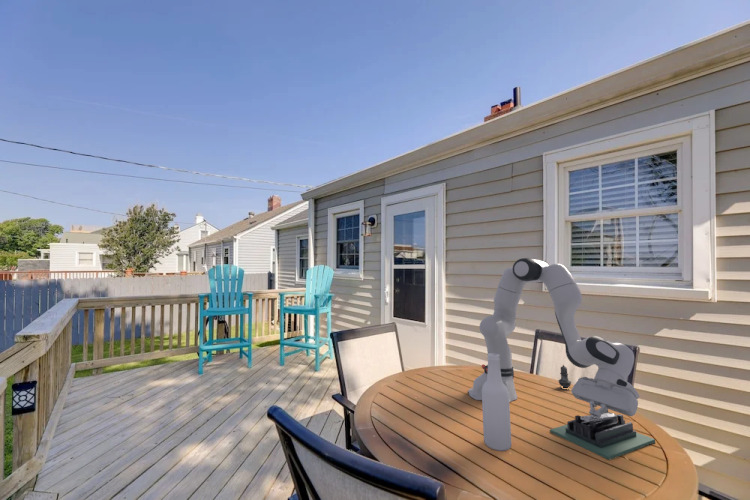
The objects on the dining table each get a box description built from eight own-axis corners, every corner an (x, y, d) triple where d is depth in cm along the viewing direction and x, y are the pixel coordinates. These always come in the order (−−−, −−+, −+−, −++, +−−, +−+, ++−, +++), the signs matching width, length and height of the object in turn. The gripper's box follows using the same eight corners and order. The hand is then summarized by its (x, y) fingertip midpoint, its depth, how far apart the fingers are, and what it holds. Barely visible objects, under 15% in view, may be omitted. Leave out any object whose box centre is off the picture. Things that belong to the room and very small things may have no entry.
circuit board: (594, 419, 125) (594, 416, 125) (655, 442, 107) (654, 439, 107) (550, 432, 114) (549, 429, 114) (609, 460, 96) (608, 456, 96)
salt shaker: (573, 390, 158) (572, 366, 159) (561, 390, 159) (559, 365, 161) (569, 387, 164) (567, 363, 165) (556, 386, 165) (555, 363, 166)
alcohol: (500, 454, 100) (496, 358, 103) (478, 443, 107) (474, 353, 110) (517, 447, 104) (512, 355, 108) (494, 436, 112) (490, 350, 115)
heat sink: (600, 422, 120) (598, 404, 121) (636, 435, 109) (634, 416, 110) (565, 432, 112) (564, 413, 113) (601, 448, 101) (599, 427, 102)
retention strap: (609, 415, 116) (609, 412, 116) (618, 418, 113) (618, 415, 113) (580, 419, 109) (580, 416, 110) (589, 423, 107) (589, 419, 107)
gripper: (576, 370, 124) (561, 400, 119) (636, 385, 105) (621, 421, 100) (584, 380, 125) (570, 410, 120) (645, 397, 107) (631, 433, 102)
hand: (594, 415), depth 110 cm, fingers closed, pressing on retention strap
